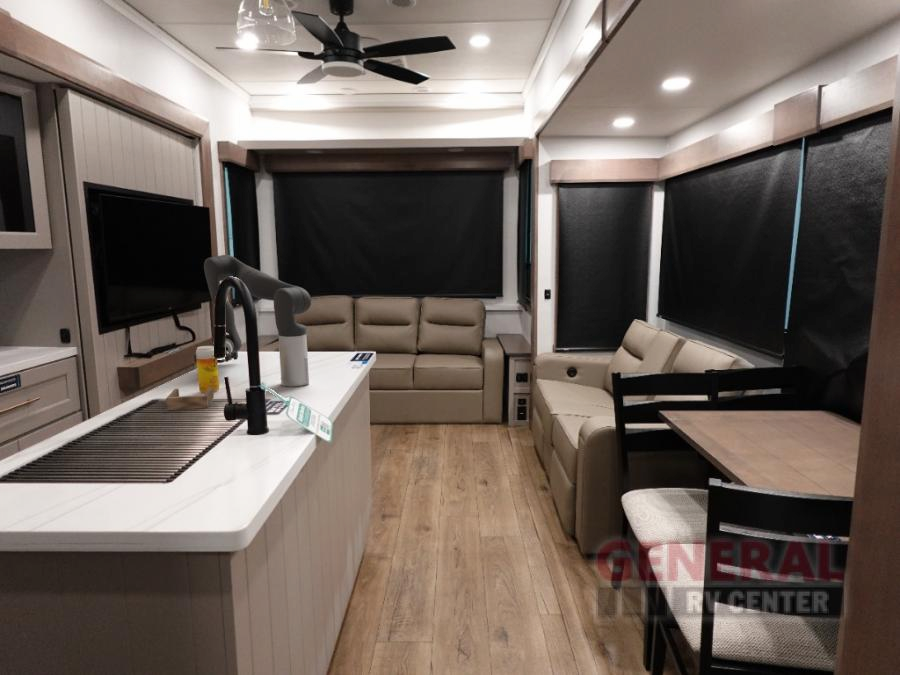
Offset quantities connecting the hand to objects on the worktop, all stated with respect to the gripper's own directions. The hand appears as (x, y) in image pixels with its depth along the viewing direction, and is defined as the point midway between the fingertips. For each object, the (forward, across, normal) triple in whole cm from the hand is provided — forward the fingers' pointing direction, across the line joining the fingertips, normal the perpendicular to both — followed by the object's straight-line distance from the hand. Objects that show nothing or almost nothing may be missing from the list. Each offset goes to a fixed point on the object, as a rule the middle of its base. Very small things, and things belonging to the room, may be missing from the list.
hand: (213, 359), depth 189 cm
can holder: (+24, -3, +8) cm, 26 cm away
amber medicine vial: (+11, 0, +9) cm, 14 cm away
